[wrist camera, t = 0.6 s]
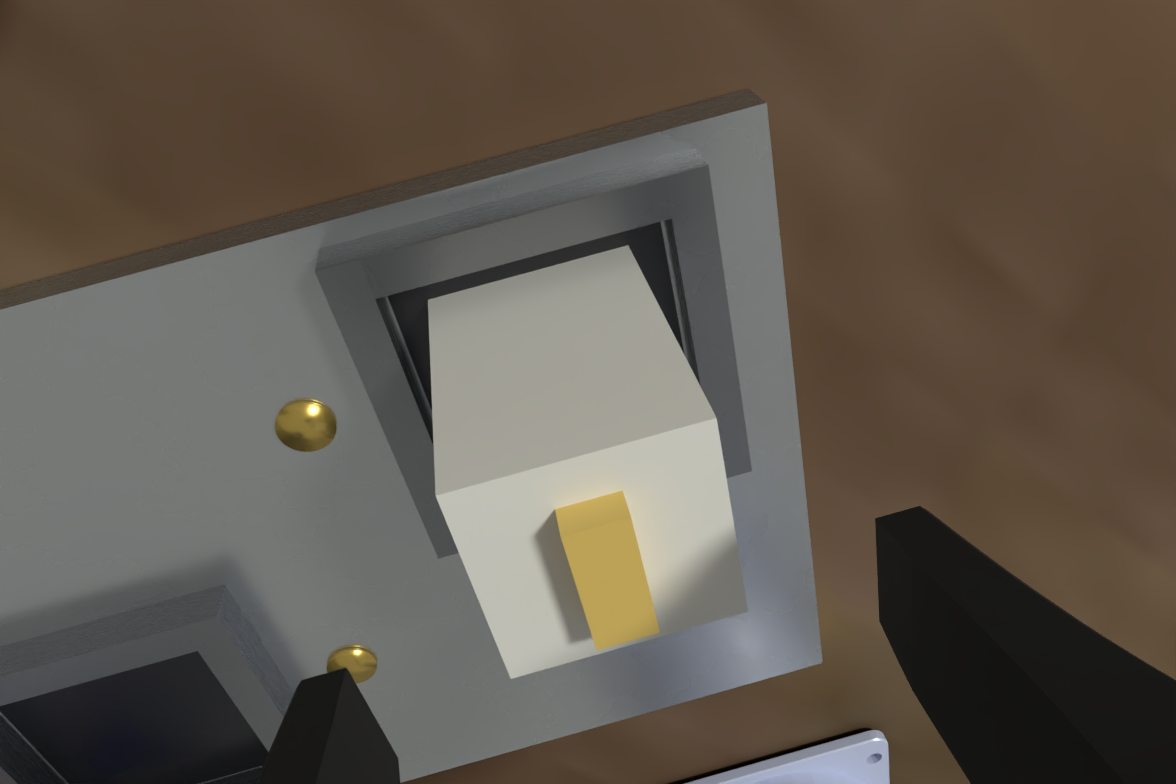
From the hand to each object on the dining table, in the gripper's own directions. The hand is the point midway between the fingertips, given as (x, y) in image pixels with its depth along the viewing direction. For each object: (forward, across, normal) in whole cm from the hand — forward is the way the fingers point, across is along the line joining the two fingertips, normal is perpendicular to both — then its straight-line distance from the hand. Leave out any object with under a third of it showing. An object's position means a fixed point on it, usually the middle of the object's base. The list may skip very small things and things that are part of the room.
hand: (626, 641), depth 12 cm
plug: (+8, 0, 0) cm, 8 cm away
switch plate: (+9, +6, +4) cm, 11 cm away
